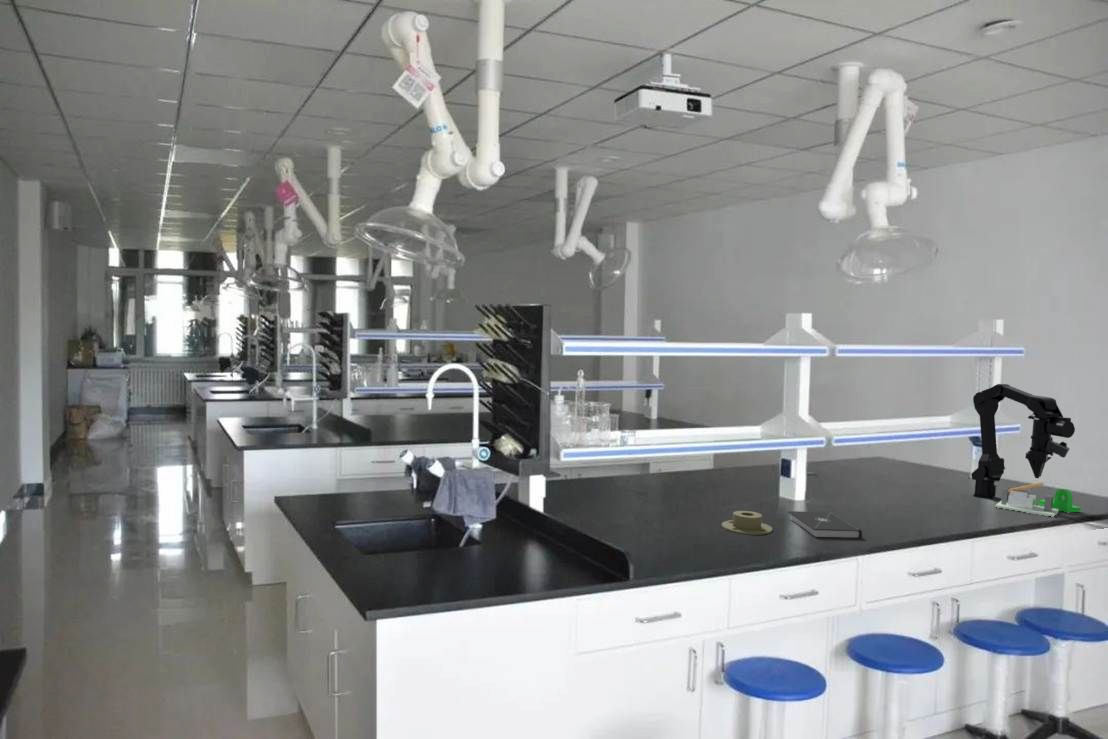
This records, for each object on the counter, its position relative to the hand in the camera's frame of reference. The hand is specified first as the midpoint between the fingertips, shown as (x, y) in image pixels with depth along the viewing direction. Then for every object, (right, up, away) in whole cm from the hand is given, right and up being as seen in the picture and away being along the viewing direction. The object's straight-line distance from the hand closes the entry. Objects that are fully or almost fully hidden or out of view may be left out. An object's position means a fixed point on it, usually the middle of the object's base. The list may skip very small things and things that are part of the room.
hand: (1037, 477), depth 288 cm
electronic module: (-3, -11, +2) cm, 11 cm away
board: (-2, -12, +2) cm, 12 cm away
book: (-87, -12, -35) cm, 94 cm away
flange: (-111, -11, -39) cm, 118 cm away
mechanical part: (+11, -13, +7) cm, 18 cm away
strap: (-3, -5, +3) cm, 6 cm away
